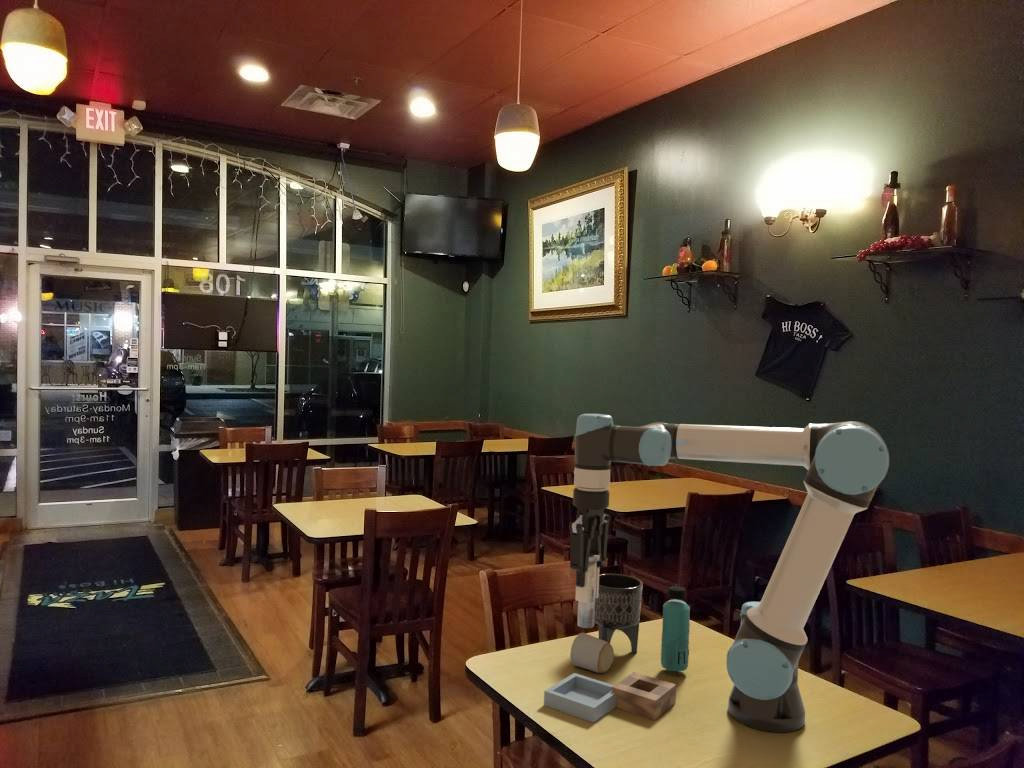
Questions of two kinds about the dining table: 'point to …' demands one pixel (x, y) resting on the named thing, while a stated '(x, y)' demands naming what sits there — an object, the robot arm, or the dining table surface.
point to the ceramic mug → (591, 653)
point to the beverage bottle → (675, 631)
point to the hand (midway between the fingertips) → (586, 598)
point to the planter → (618, 607)
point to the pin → (588, 609)
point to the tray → (581, 697)
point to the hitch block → (644, 695)
